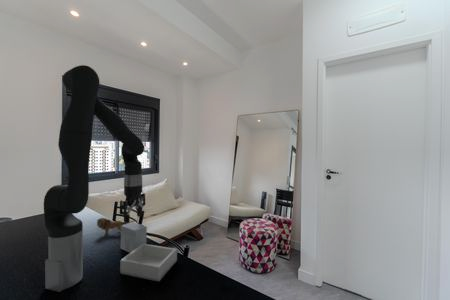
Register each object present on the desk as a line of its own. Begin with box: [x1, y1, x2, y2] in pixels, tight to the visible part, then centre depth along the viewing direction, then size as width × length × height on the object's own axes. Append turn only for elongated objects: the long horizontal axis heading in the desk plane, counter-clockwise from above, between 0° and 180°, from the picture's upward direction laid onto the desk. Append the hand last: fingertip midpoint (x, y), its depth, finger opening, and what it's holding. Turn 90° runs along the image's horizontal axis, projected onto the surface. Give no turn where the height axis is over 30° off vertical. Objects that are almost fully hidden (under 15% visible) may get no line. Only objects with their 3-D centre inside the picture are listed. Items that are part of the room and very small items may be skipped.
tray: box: [119, 243, 178, 282], centre depth 79 cm, size 13×16×5 cm
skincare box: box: [119, 221, 148, 254], centre depth 92 cm, size 10×6×10 cm, turn 59°
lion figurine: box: [96, 217, 125, 237], centre depth 107 cm, size 15×5×9 cm, turn 108°
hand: (133, 219), depth 92 cm, fingers open, 8 cm apart
